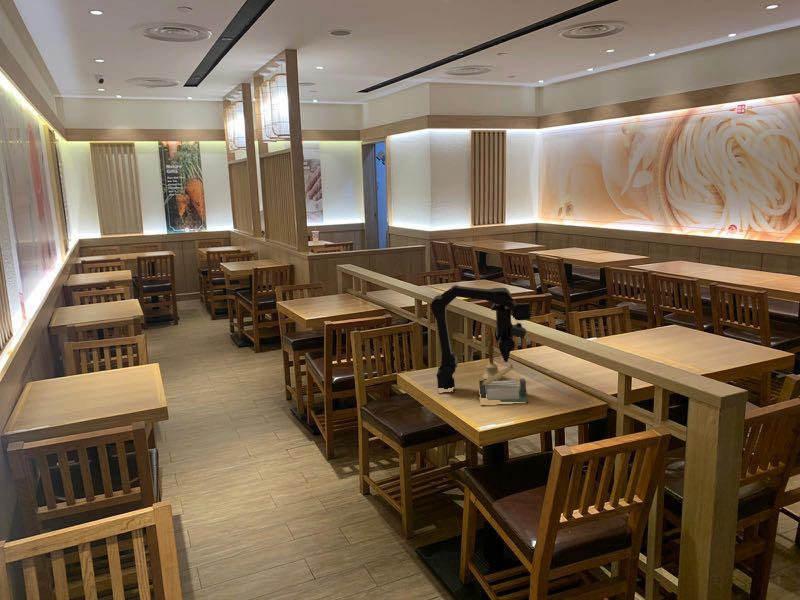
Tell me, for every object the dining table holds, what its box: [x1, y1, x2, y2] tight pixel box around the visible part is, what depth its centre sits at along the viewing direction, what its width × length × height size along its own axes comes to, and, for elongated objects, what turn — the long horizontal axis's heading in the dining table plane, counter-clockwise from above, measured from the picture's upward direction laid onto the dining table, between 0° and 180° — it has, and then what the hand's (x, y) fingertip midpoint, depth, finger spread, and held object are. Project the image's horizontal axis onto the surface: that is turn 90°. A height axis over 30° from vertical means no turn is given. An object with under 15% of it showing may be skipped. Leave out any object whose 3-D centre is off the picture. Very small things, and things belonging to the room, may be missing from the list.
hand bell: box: [482, 341, 503, 381], centre depth 251 cm, size 8×8×16 cm
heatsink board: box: [478, 377, 529, 403], centre depth 232 cm, size 18×14×6 cm
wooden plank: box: [482, 364, 515, 387], centre depth 231 cm, size 14×3×1 cm
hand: (504, 357), depth 237 cm, fingers open, 9 cm apart
